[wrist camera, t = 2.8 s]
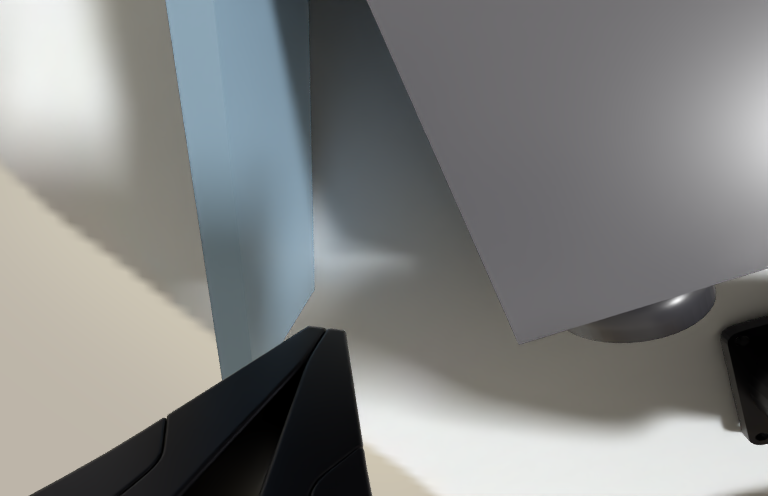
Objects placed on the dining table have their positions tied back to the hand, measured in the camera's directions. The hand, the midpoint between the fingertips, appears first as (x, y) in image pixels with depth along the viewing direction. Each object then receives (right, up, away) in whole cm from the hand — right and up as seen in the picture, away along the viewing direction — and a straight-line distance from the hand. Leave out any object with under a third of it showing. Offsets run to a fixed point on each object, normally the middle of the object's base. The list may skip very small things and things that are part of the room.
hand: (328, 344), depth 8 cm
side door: (-2, +7, +5) cm, 9 cm away
